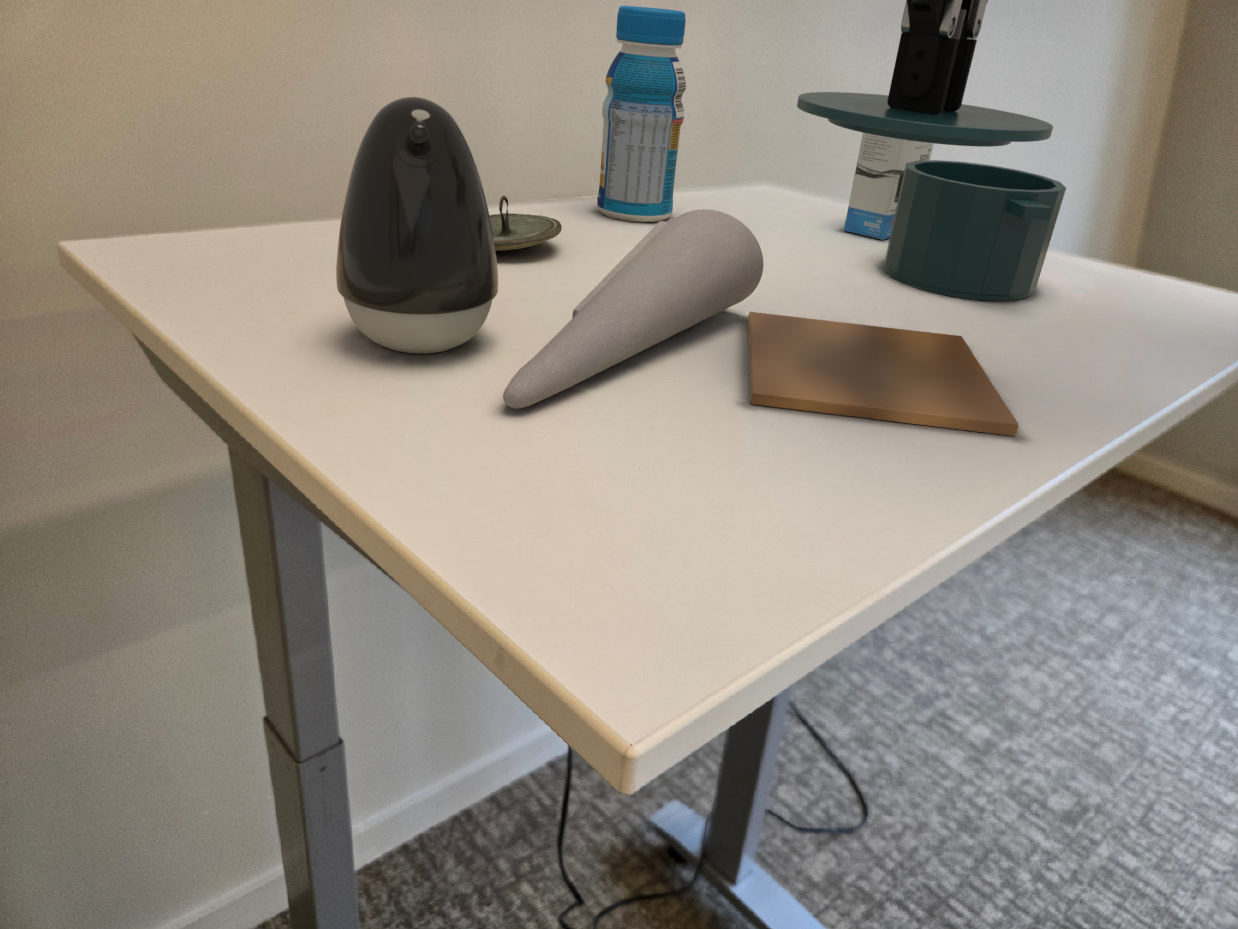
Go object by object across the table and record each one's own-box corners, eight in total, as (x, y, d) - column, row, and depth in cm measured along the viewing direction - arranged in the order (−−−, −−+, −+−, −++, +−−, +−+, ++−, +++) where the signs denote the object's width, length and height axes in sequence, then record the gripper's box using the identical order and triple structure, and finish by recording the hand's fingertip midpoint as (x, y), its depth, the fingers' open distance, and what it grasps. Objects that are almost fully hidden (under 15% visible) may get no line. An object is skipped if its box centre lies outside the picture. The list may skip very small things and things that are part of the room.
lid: (574, 275, 83) (588, 219, 81) (477, 256, 76) (491, 195, 75) (517, 249, 90) (529, 198, 89) (424, 230, 84) (436, 175, 83)
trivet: (959, 345, 70) (962, 335, 69) (1015, 436, 55) (1019, 424, 55) (747, 321, 71) (749, 311, 70) (750, 404, 56) (752, 392, 56)
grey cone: (639, 372, 48) (770, 220, 67) (491, 335, 50) (660, 199, 70) (629, 493, 52) (756, 316, 72) (494, 453, 54) (652, 293, 74)
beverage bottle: (621, 225, 94) (639, 8, 85) (581, 206, 101) (593, 2, 91) (688, 221, 99) (712, 14, 89) (645, 203, 105) (664, 8, 95)
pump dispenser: (337, 371, 56) (320, 104, 49) (342, 314, 65) (328, 81, 57) (506, 369, 58) (512, 115, 51) (488, 314, 67) (492, 91, 60)
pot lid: (971, 120, 63) (998, 12, 60) (1100, 160, 51) (1143, 25, 47) (765, 105, 61) (782, -9, 58) (846, 143, 48) (873, 0, 45)
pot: (974, 253, 96) (999, 159, 92) (1080, 313, 80) (1117, 202, 75) (852, 248, 94) (871, 151, 90) (935, 308, 78) (963, 194, 73)
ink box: (882, 241, 98) (907, 124, 92) (841, 230, 101) (863, 117, 95) (916, 230, 104) (941, 120, 98) (876, 221, 107) (899, 113, 101)
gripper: (1045, -332, 39) (938, 127, 47) (1120, -243, 51) (1023, 112, 59) (878, -317, 43) (807, 106, 51) (984, -238, 54) (911, 95, 63)
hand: (923, 106), depth 55 cm, fingers closed on pot lid, 2 cm apart
